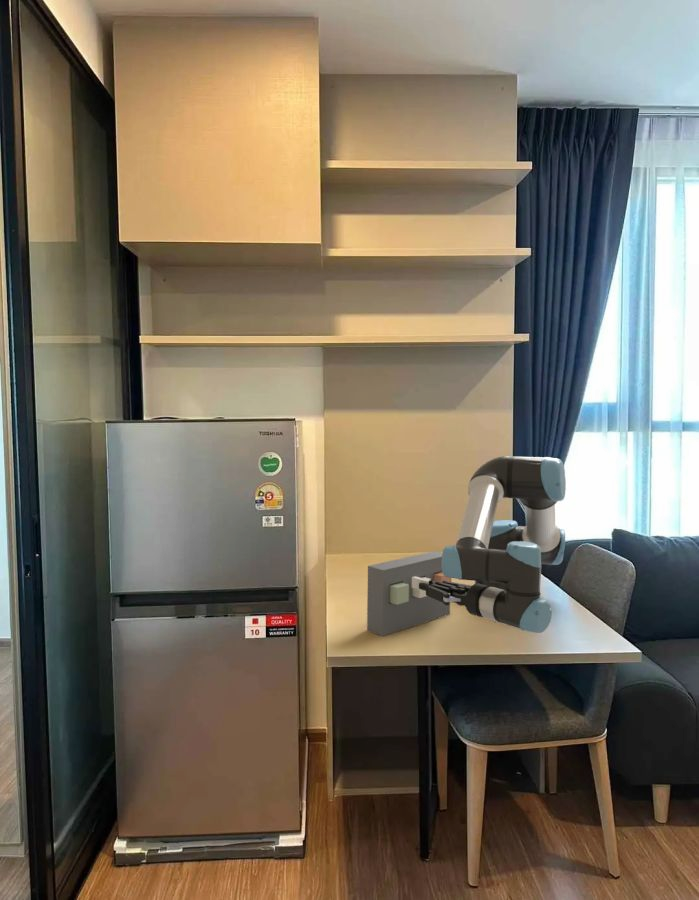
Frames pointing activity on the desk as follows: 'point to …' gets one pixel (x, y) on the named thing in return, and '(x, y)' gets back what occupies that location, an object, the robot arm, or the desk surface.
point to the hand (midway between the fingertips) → (413, 581)
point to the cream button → (419, 591)
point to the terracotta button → (440, 577)
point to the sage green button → (398, 593)
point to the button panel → (416, 610)
